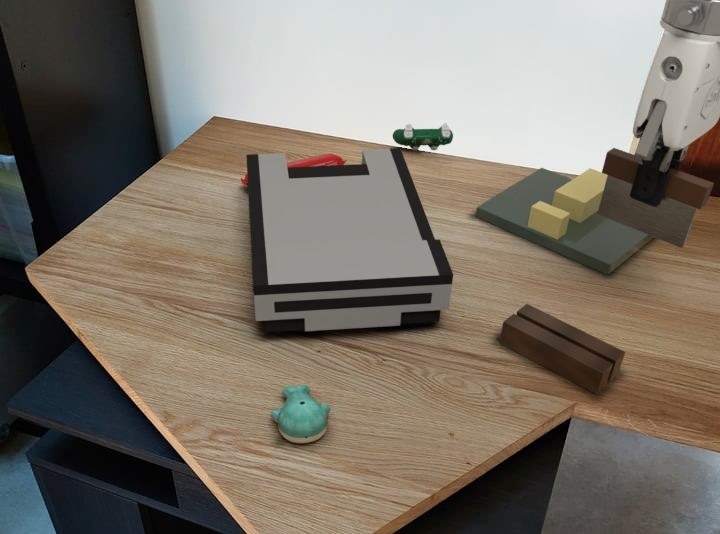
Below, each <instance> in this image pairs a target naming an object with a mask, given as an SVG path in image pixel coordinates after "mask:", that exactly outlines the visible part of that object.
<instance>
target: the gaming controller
mask: <svg viewBox="0 0 720 534" xmlns="http://www.w3.org/2000/svg"><path fill="white" fill-rule="evenodd" d="M392 139H393V141H394V142H395V143H396V144H397V145H400V146H404V147H410V149H411V150H412V151H413V152H415V151H419V149H420V147H421V146H428V147H429V148H430V150H431V151H437V150H438V148H439V147H440V146H447V145H449V144H452V142H453V139H454V132H453V131H452V130H451V129H450V126H449V124H448V123H446V122H445V123H443V124H441V126H440V127H439V128H414V127H413V125H412V124H411V123H407V124H406V125H405V128H397V129H395V130H394V132H393V133H392Z"/></svg>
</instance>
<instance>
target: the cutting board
mask: <svg viewBox="0 0 720 534" xmlns="http://www.w3.org/2000/svg"><path fill="white" fill-rule="evenodd" d="M573 179H574V178H570V177H568V176H565V175H562V174H560V173H557V172H554V171H552V170H549V169H546V168H544V167H540V168H538V169H536V171H533V172H532V173H530V174H529V175H527V176H526V177H523V178H522V179H520V180H519V181H517V182H516V183H514V184H512V185H511V186H509V187H507V188H506V189H504V190H502V191H500V192H499V193H498V194H496V195H494V196H492V197H491V198H489V199H488V200H486V201H484V202H483V203H481V204H479V205H477V206H476V210H475V217H476V218H478V219H480V220H482V221H485V222H486V223H488V224H491V225H493V226H496V227H497V228H500V229H502V230H505V231H507V232H510V233H512V234H514V235H516V236H518V237H521V238H523V239H525V240H528V241H530V242H532V243H534V244H536V245H539V246H541V247H543V248H545V249H548V250H550V251H553V252H555V253H557V254H559V255H561V256H564V257H566V258H568V259H570V260H572V261H575V262H578V263H579V264H582V265H584V266H587V267H589V268H591V269H593V270H595V271H598V272H600V273H602V274H604V275H607V276H608V275H609V274H611V273H612V272H614V271H615V270H616V269H617V268H618V267H620V266H621V265H622V264H624V262H625V261H627V260H628V259H629V258H631V257H632V256H633V255H634V254H636V253H637V252H638V251H639V250H640V249H642V248H643V247H644V246H645V245H647V244H648V243H649V242H650V241H651V240H652V239H654V238H655V237H653V236H650V235H648V234H645V233H643V232H640V231H638V230H635V229H633V228H630V227H628V226H626V225H623V224H621V223H618V222H616V221H613V220H611V219H608V218H606V217H603V216H601V215H598V214H597V213H598V211H596V212H595V213H594V214H592V215H591V216H589V217H588V218H587V219H585V220H584V221H582V222H581V223H578V222H576V221H573V220H571V219H569V221H568V225H567V230H566V234H565V235H563V236H562V237H560V238H559V239H558V240H557V239H554V238H552V237H550V236H548V235H545V234H543V233H541V232H538V231H536V230H534V229H531V228H529V227H527V226H528V221H529V216H530V211H531V206H533V205H534V204H536V203H537V202H539V201H542V202H544V203H546V204H549V205H551V206H552V203H553V198H554V193H555V191H556V190H557V189H559V188H560V187H562V186H564V185H565V184H567V183H568V182H570V181H571V180H573Z"/></svg>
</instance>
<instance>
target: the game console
mask: <svg viewBox="0 0 720 534" xmlns="http://www.w3.org/2000/svg"><path fill="white" fill-rule="evenodd" d="M361 152H362V153H361V163H356V164H355V163H354V164H344V165H332V166H309V167H287V163H288V162H287V153H286V152H277V153H275V152H273V153H252V154H249V153H248V154H246V155H245V156H246V174H247V176H248V185H247V193H248V209H249V210H248V211H249V214H248V215H249V231H250V233H249V234H250V246H251V247H250V248H251V249H250V253H251V254H250V255H251V256H250V257H251V273H252V288H253V289H252V292H253V303H254V317H255V322H262V321H263V323H264V334H265V335H274V334H276V335H277V334H292V333H294V334H295V333H308V332H319V331H331V330H332V331H333V330H344V329H345V330H347V329H364V328H366V329H367V328H379V327H380V328H388V327H389V328H390V327H407V326H423V325H424V326H425V325H435V323H437V322H440V317H441V311H446V310H447V311H448V310H450V304H451V303H450V302H451V295H452V287H453V280H454V272H453V271H452V267H451V265H450V262H449V259H448V257H447V255H446V252H445V249H444V247H443V244H442V242H441V239H436V238H435V236H434V233H433V230H432V228H431V225H430V223H429V218H428V217H427V214H426V212H425V209H424V206H423V204H422V201H421V199H420V195H419V193H418V191H417V188H416V185H415V183H414V180H413V178H412V175H411V172H410V170H409V167H408V164H407V161H406V159H405V157H404V153H403V151H402V149H401V147H396V148H395V147H394V148H374V149H373V148H372V149H371V148H370V149H362V151H361Z"/></svg>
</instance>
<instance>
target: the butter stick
mask: <svg viewBox="0 0 720 534" xmlns="http://www.w3.org/2000/svg"><path fill="white" fill-rule="evenodd" d="M607 176H608V175H606V174H604V173H602V171H598V170H596V169H593V168H588V169H586V170H585V171H583V172H582V173H581V174H579V175H577V176H576V177H574V178H572V179H573V180H571V181H570V182H568V183H567V184H565V185H564V186H562V187H560V188H559V189H557V190H556V191H555V193H554V198H553V203H552V206H554V207H556V208H559V209H561V210H564V211H566V212H568V213H570V217H569V219H571V220H573V221H576V222H578V223H581V222H582V221H584V220H585V219H587V218H588V217H589V216H591V215H592V214H594V213H595V212H596V211H598V209H599V205H600V202H601V198H602V194H603V191H604V187H605V183H606V180H607Z"/></svg>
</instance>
